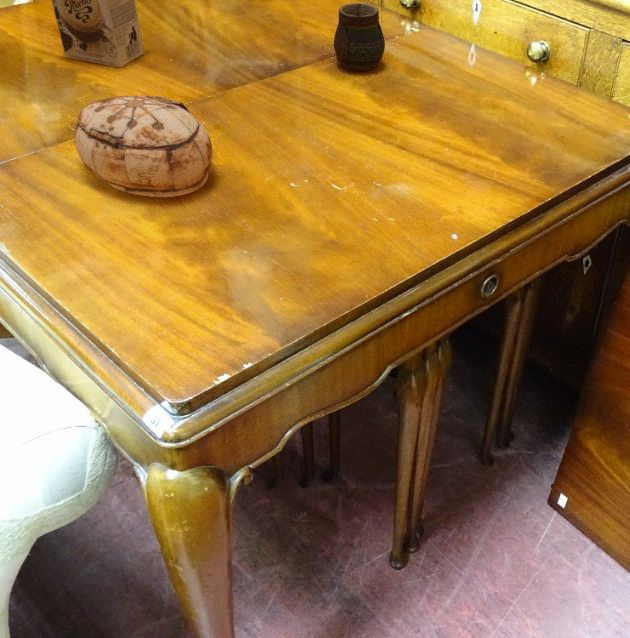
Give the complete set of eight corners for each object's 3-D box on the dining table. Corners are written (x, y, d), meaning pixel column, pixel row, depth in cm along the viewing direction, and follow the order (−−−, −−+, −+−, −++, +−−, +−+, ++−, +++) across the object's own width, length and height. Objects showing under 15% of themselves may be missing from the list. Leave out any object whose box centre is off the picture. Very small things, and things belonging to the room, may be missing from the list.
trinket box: (205, 206, 81) (194, 137, 76) (59, 201, 80) (38, 131, 75) (228, 146, 91) (220, 81, 86) (99, 141, 90) (83, 76, 85)
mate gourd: (378, 54, 115) (379, -16, 109) (390, 74, 110) (391, 2, 103) (330, 57, 113) (328, -14, 107) (340, 77, 108) (338, 4, 101)
